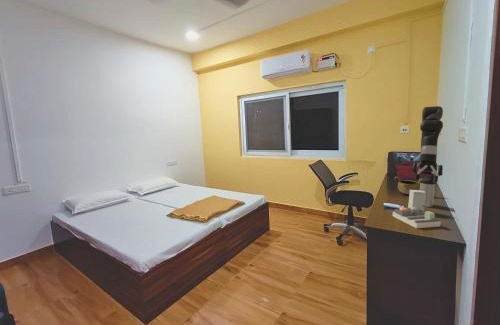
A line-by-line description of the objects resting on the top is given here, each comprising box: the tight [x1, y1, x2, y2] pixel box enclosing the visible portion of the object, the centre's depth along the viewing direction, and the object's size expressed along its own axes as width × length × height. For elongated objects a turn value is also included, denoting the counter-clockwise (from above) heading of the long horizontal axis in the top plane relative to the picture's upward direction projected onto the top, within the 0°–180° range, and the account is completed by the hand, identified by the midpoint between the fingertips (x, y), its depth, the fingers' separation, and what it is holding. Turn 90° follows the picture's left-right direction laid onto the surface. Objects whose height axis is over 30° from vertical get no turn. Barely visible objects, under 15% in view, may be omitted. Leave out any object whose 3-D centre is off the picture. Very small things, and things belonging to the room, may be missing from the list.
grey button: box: [410, 207, 420, 212], centre depth 159 cm, size 5×5×2 cm
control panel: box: [392, 207, 442, 229], centre depth 154 cm, size 20×16×5 cm
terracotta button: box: [398, 206, 409, 212], centre depth 158 cm, size 5×5×2 cm
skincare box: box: [407, 189, 426, 211], centre depth 171 cm, size 8×6×15 cm
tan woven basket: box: [394, 176, 422, 196], centre depth 213 cm, size 22×17×15 cm
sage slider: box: [424, 210, 436, 220], centre depth 148 cm, size 4×3×4 cm
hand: (426, 181), depth 139 cm, fingers open, 8 cm apart
